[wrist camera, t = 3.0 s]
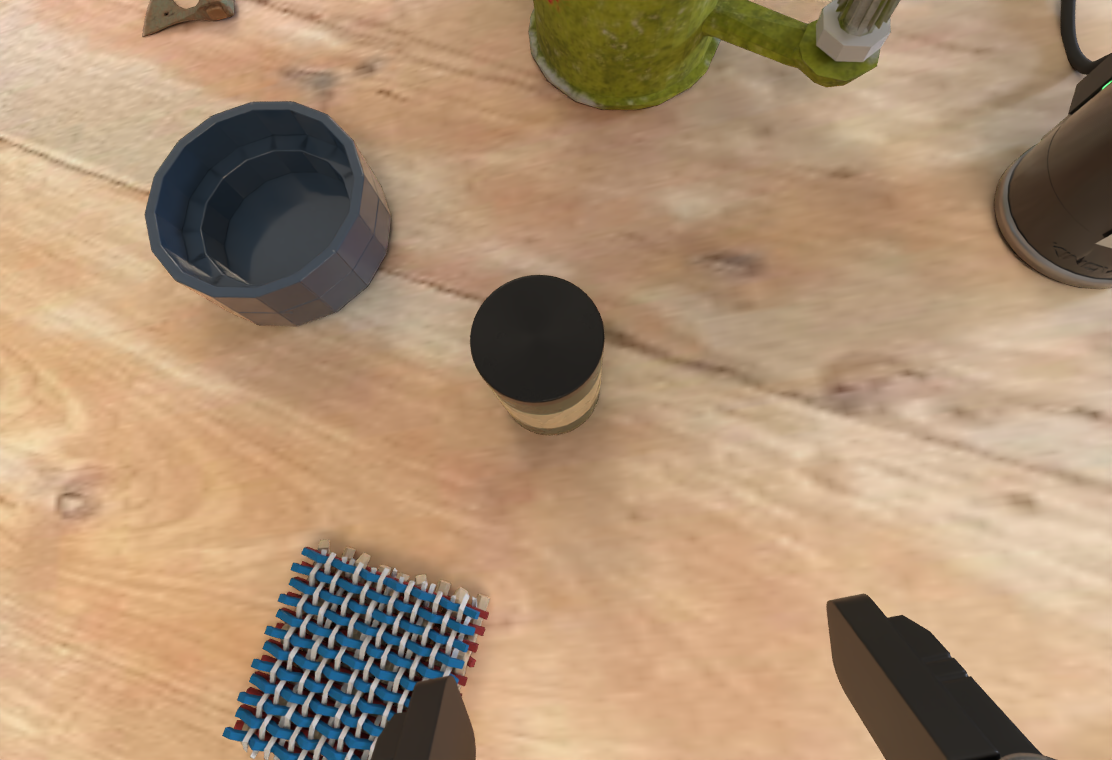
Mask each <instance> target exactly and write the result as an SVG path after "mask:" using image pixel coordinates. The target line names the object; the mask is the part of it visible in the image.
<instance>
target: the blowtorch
mask: <svg viewBox="0 0 1112 760" xmlns="http://www.w3.org/2000/svg"><path fill="white" fill-rule="evenodd" d="M899 1H900V0H833V1H832V2H831V3H829V4H828V5H827V6H825V7H824V8H823V10H822V12H821V14H820V17H819V19H818V20H816V21H814V22H811V23H809V24H805V23H803V22H800V21H798V20H795V19H793V18H790V17H788V16H785V15H783V14H780V13H778V12H775V11H773V10H770V9H768V8H766V7H763V6H761V5H758V4H756V3H753V2H751V1H748V0H533V2H534V10H533V12H532V14H531V18H530V26H529V38H530V46H531V54H532V55H533V57H534V59H535V60H536V62H537V64H538V65H539V67H540V69H541V71H542V72H543V74H544V76H545V77H546V79H547V81H549V82H550V83H551V84H553V85H554V86H556V87H557V88H558V89H560V90H561V91H562V92H564V93H565V94H566V95H568V96H569V97H570V98H572V99H573V100H574V101H576V102H579V103H583V104H586V105H589V106H593V107H596V108H599V109H612V110H637V109H642V108H647V107H652V106H657V105H659V104H661V103H663V102H665V101H667V100H668V99H670V98H672V97H674V96H676V95H678V94H680V93H681V92H683V91H685V90H687V89H689V88H690V87H691V86H692V85H694V84H695V83H696V82H697V81H698V80H699V79H700V78H701V77H702V76H703V75H704V74H705V73H706V71H707V69H708V67H709V65H710V63H711V61H712V58H713V56H714V54H715V52H716V49H717V47H718V45H719V43H720V40H723V41H726V42H728V43H731V44H734V45H736V46H739V47H741V48H744V49H746V50H749V51H752V52H754V53H757V54H759V55H762V56H764V57H767V58H770V59H772V60H775V61H777V62H780V63H782V64H785V65H788V66H792V67H795V68H799V69H800V70H801V71H802V72H803V73H804V74H805V75H806V76H807V77H809V78H810V79H811V80H812V81H813V82H814V83H817V84H819V85H822V86H825V87H834V86H843V85H845V84H847V83H849V82H851V81H852V80H854V79H856V78H858V77H859V76H861V75H863V74H864V73H866V72H868V71H870V70H871V69H873V68H875V67H876V66H877V63H878V58H879V53H880V49H881V47H882V45H883V44H884V42H885V40H886V39H887V37H888V36H889V34H890V32H891V25H890V17H891V15H892V13H893V12H894V10H895V8H896V6H897V5H898V3H899Z"/></svg>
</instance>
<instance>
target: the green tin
mask: <svg viewBox="0 0 1112 760" xmlns="http://www.w3.org/2000/svg"><path fill="white" fill-rule="evenodd" d="M604 339H605V338H604V327H603V322H602V319H601V316H600V313H599V311H598V309H597V307H596V306H595V304H594V303H593V301H592V300H591V299H590V297H589V296H588V295H587V294H586V293H585V292H584V291H582V290H581V289H580V288H579V287H577V286H575V285H574V284H572V283H570V282H568V281H566V280H564V279H560V278H557V277H553V276H547V275H531V276H525V277H521V278H517V279H514V280H512V281H510V282H507V283H506V284H504V285H502V286H501V287H499V288H498V289H496V290H495V291H494V292H493V293H492V294H491V295H490V296H489V297H488V298H487V299H486V300H485V301H484V302H483V304H482V305H481V307H480V308H479V310H478V312H477V314H476V316H475V318H474V321H473V324H472V328H471V335H470V347H471V354H472V357H473V361H474V363H475V366H476V368H477V370H478V371H479V373H480V375H481V376H482V378H483V379H484V380H485V382H486V383H487V384H488V385H489V386H490V387H491V389H492V390H493V392H494V393H495V395H496V396H497V397H498V399H499V400H500V402H501V403H502V404H503V406H504V407H505V408H506V410H507V411H508V412H509V413H510V415H511V416H512V417H513V418H514V420H515V421H516V422H518V423H519V424H520V425H521V426H522V427H524V428H526V429H527V430H529V431H532V432H534V433H537V434H542V435H559V434H563V433H567V432H569V431H572V430H574V429H575V428H577V427H579V426H580V425H581V424H583V423H584V422H585V421H586V420H587V419H588V418H589V416H590V415H591V414H592V412H593V410H594V409H595V407H596V404H597V401H598V398H599V392H600V384H601V373H602V359H603V357H602V355H603V351H604Z"/></svg>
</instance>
